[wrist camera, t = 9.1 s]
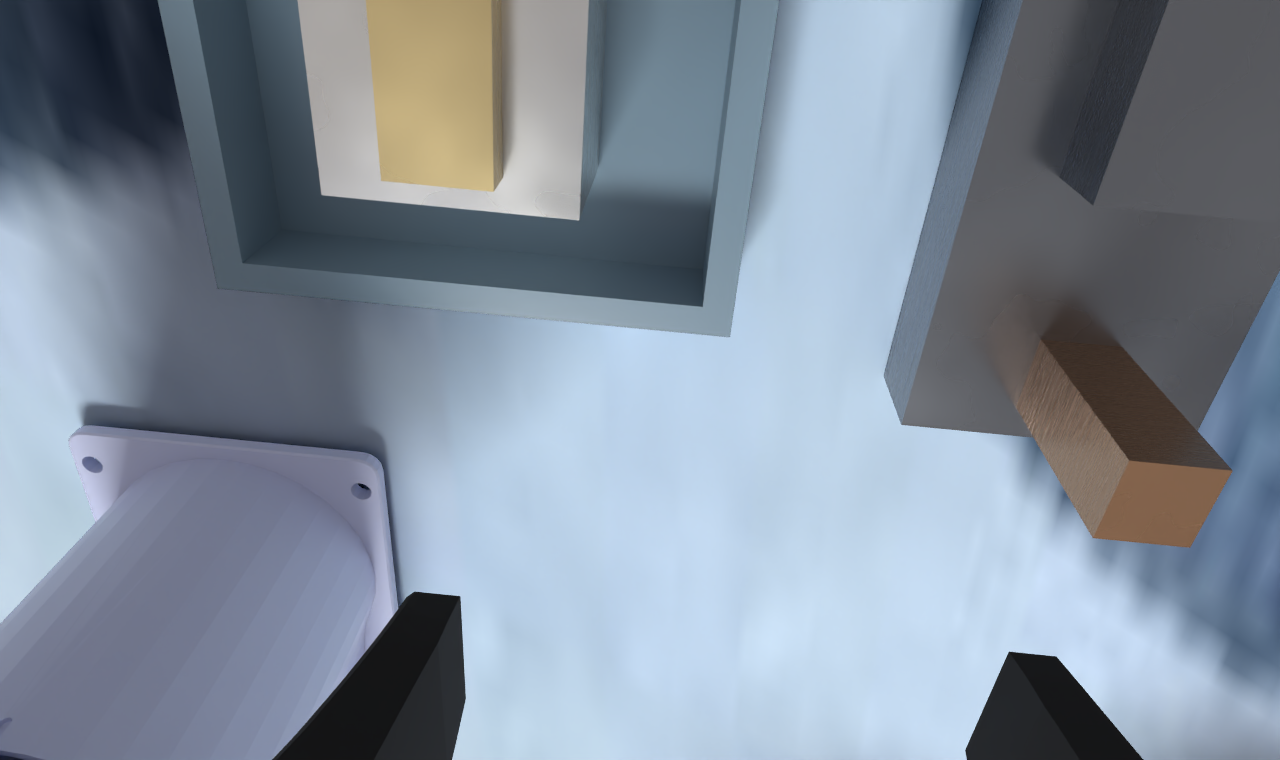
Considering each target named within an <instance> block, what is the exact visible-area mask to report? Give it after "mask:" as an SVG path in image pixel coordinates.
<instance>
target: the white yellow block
mask: <svg viewBox="0 0 1280 760" xmlns="http://www.w3.org/2000/svg"><path fill="white" fill-rule="evenodd" d="M297 1H298V9H299V17H300V25H301V33H302V41H303V49H304V57H305V65H306V73H307V82H308V90H309V98H310V106H311V114H312V122H313V130H314V138H315V146H316V154H317V162H318V171H319V179H320V187H321V195H325V196H336V197H346V198H356V199H366V200H376V201H387V202H397V203H407V204H417V205H427V206H438V207H448V208H458V209H468V210H478V211H488V212H499V213H509V214H519V215H529V216H539V217H550V218H560V219H570V220H580V217H581V215H582V212H583V209H584V206H585V203H586V201H587V198H588V195H589V192H590V189H591V187H592V184H593V181H594V178H595V175H596V173H597V170H598V164H599V145H600V127H601V108H602V89H603V70H604V52H605V33H606V14H607V0H297Z"/></svg>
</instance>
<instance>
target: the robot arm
mask: <svg viewBox="0 0 1280 760" xmlns="http://www.w3.org/2000/svg"><path fill="white" fill-rule="evenodd" d="M69 447H70V450H71V453H72V456H73V459H74V461H75V464H76V467H77V470H78V473H79V476H80V479H81V482H82V484H83V487H84V490H85V493H86V496H87V499H88V502H89V505H90V508H91V510H92V513H93V516H94V519H95V522H96V523H95V524H94V525H93V526H92V527H91V528H90V529H89V530H88V531H87V532H86V533H85V534H84V535H83V536H82V538H81V539H80V540H79V541H78V542H77V543H76V544H75V545H74V546H73V547H72V548H71V549H70V550H69V551H68V552H67V553H66V555H65V556H64V557H63V558H62V559H61V560H60V561H59V562H58V563H57V564H56V565H55V566H54V567H53V568H52V569H51V571H50V572H49V573H48V574H47V575H46V576H45V577H44V578H43V579H42V580H41V581H40V582H39V583H38V584H37V585H36V586H35V588H34V589H33V590H32V591H31V592H30V593H29V594H28V595H27V596H26V597H25V598H24V599H23V600H22V601H21V602H20V604H19V605H18V606H17V607H16V608H15V609H14V610H13V611H12V612H11V613H10V614H9V615H8V616H7V617H6V618H5V619H4V621H3V622H2V623H1V624H0V760H452V757H453V753H454V748H455V744H456V740H457V735H458V731H459V726H460V722H461V717H462V713H463V708H464V704H465V699H466V695H465V676H464V658H463V639H462V620H461V601H460V596H452V595H442V594H432V593H422V592H414V593H412V594H411V595H409V596H408V597H406V599H405V600H404V602H403V603H402V604H401V606H400V607H399V608H398V601H397V592H396V583H395V573H394V564H393V555H392V546H391V536H390V527H389V518H388V509H387V499H386V490H385V481H384V472H383V467H382V464H381V463H380V462H379V460H378V459H377V458H376V457H374V456H372V455H371V454H368V453H364V452H357V451H347V450H337V449H327V448H317V447H307V446H296V445H286V444H276V443H266V442H256V441H246V440H235V439H225V438H215V437H205V436H195V435H185V434H174V433H164V432H154V431H144V430H134V429H124V428H113V427H103V426H93V425H87V426H82V427H81V428H79V429H78V430H76V431H75V432H74V433H73V434H72V435H71V436H70V438H69ZM94 458H96V459H97V460H99V461H100V462H101V463H100V462H98V461H97V460H95V459H94ZM358 483H361V484H364V485H366V486H368V487H369V488H370V490H366V489H363V488H361V487H360V486H359V485H358ZM965 751H966V757H967V760H1143V759H1142V758H1141V756H1140V755H1139V754H1138V753H1137V752H1136V750H1135V749H1134V748H1133V747H1132V746H1131V745H1130V743H1129V742H1128V741H1127V740H1126V739H1125V737H1124V736H1123V735H1122V734H1121V733H1120V732H1119V730H1118V729H1117V728H1116V727H1115V726H1114V724H1113V723H1112V722H1111V721H1110V720H1109V718H1108V717H1107V716H1106V715H1105V714H1104V713H1103V711H1102V710H1101V709H1100V708H1099V707H1098V705H1097V704H1096V703H1095V702H1094V701H1093V699H1092V698H1091V697H1090V696H1089V695H1088V693H1087V692H1086V691H1085V690H1084V689H1083V687H1082V686H1081V685H1080V684H1079V683H1078V682H1077V680H1076V679H1075V678H1074V677H1073V676H1072V674H1071V673H1070V672H1069V671H1068V670H1067V669H1066V667H1065V666H1064V665H1063V664H1062V663H1061V662H1060V660H1059V659H1058V658H1057V657H1055V656H1045V655H1035V654H1026V653H1016V652H1009V653H1008V655H1007V657H1006V660H1005V662H1004V664H1003V666H1002V669H1001V671H1000V673H999V675H998V678H997V680H996V682H995V684H994V687H993V689H992V691H991V693H990V696H989V698H988V700H987V702H986V705H985V707H984V709H983V711H982V714H981V716H980V718H979V721H978V723H977V725H976V727H975V730H974V732H973V734H972V736H971V739H970V741H969V743H968V745H967V748H966V750H965Z"/></svg>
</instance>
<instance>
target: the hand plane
mask: <svg viewBox="0 0 1280 760" xmlns="http://www.w3.org/2000/svg"><path fill="white" fill-rule="evenodd" d="M1279 271H1280V0H983V2H982V5H981V9H980V13H979V17H978V21H977V24H976V28H975V32H974V36H973V40H972V43H971V47H970V51H969V55H968V59H967V62H966V66H965V70H964V74H963V78H962V81H961V85H960V89H959V93H958V97H957V100H956V104H955V108H954V112H953V116H952V119H951V123H950V127H949V131H948V135H947V138H946V142H945V146H944V150H943V154H942V157H941V161H940V165H939V169H938V173H937V176H936V180H935V184H934V188H933V192H932V195H931V199H930V203H929V207H928V211H927V214H926V218H925V222H924V226H923V230H922V233H921V237H920V241H919V245H918V249H917V252H916V256H915V260H914V264H913V267H912V271H911V275H910V279H909V283H908V286H907V290H906V294H905V298H904V302H903V305H902V309H901V313H900V317H899V321H898V324H897V328H896V332H895V336H894V340H893V343H892V347H891V351H890V355H889V359H888V362H887V366H886V370H885V374H884V378H885V381H886V384H887V387H888V389H889V392H890V395H891V398H892V400H893V403H894V406H895V409H896V411H897V414H898V417H899V420H900V422H901V425H910V426H920V427H930V428H941V429H951V430H961V431H972V432H982V433H992V434H1003V435H1013V436H1023V437H1034V439H1035V441H1036V442H1037V444H1038V446H1039V447H1040V449H1041V451H1042V452H1043V454H1044V456H1045V458H1046V459H1047V461H1048V463H1049V464H1050V466H1051V468H1052V469H1053V471H1054V473H1055V475H1056V476H1057V478H1058V480H1059V481H1060V483H1061V485H1062V486H1063V488H1064V490H1065V491H1066V493H1067V495H1068V497H1069V498H1070V500H1071V502H1072V503H1073V505H1074V507H1075V508H1076V510H1077V512H1078V513H1079V515H1080V517H1081V519H1082V520H1083V522H1084V524H1085V525H1086V527H1087V529H1088V530H1089V532H1090V534H1091V536H1092V537H1093V538H1098V539H1108V540H1119V541H1129V542H1139V543H1149V544H1159V545H1169V546H1179V547H1191V545H1192V543H1193V541H1194V539H1195V538H1196V536H1197V534H1198V532H1199V530H1200V529H1201V527H1202V525H1203V523H1204V521H1205V520H1206V518H1207V516H1208V514H1209V512H1210V511H1211V509H1212V507H1213V505H1214V503H1215V502H1216V500H1217V498H1218V496H1219V494H1220V493H1221V491H1222V489H1223V487H1224V485H1225V484H1226V482H1227V480H1228V478H1229V476H1230V475H1231V473H1232V469H1231V468H1230V467H1229V466H1228V465H1227V464H1226V463H1225V462H1224V461H1223V459H1222V458H1221V457H1220V456H1219V455H1218V454H1217V453H1216V452H1215V450H1214V449H1213V448H1212V447H1211V446H1210V445H1209V444H1208V443H1207V441H1206V440H1205V439H1204V438H1203V437H1202V436H1201V435H1200V434H1199V432H1198V429H1199V427H1200V425H1201V423H1202V421H1203V419H1204V417H1205V415H1206V413H1207V411H1208V409H1209V407H1210V405H1211V404H1212V402H1213V400H1214V398H1215V396H1216V394H1217V392H1218V390H1219V388H1220V386H1221V384H1222V382H1223V380H1224V378H1225V376H1226V374H1227V372H1228V370H1229V368H1230V366H1231V364H1232V362H1233V361H1234V359H1235V357H1236V355H1237V353H1238V351H1239V349H1240V347H1241V345H1242V343H1243V341H1244V339H1245V337H1246V335H1247V333H1248V331H1249V329H1250V327H1251V325H1252V323H1253V321H1254V320H1255V318H1256V316H1257V314H1258V312H1259V310H1260V308H1261V306H1262V304H1263V302H1264V300H1265V298H1266V296H1267V294H1268V292H1269V290H1270V288H1271V286H1272V284H1273V282H1274V280H1275V278H1276V277H1277V275H1278V273H1279Z"/></svg>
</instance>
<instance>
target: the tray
mask: <svg viewBox="0 0 1280 760" xmlns="http://www.w3.org/2000/svg"><path fill="white" fill-rule="evenodd" d="M158 4H159V9H160V14H161V18H162V23H163V28H164V33H165V38H166V42H167V47H168V52H169V57H170V62H171V66H172V71H173V76H174V81H175V86H176V90H177V95H178V100H179V105H180V110H181V115H182V119H183V124H184V129H185V134H186V139H187V143H188V148H189V153H190V158H191V163H192V167H193V172H194V177H195V182H196V187H197V191H198V196H199V201H200V206H201V211H202V216H203V220H204V225H205V230H206V235H207V240H208V244H209V249H210V254H211V259H212V264H213V268H214V273H215V278H216V283H217V288H218V289H229V290H239V291H250V292H260V293H271V294H281V295H292V296H302V297H313V298H323V299H334V300H344V301H355V302H365V303H376V304H386V305H397V306H407V307H418V308H428V309H439V310H449V311H460V312H470V313H481V314H491V315H502V316H512V317H523V318H533V319H544V320H554V321H564V322H575V323H585V324H596V325H606V326H617V327H627V328H638V329H648V330H659V331H669V332H680V333H690V334H701V335H711V336H722V337H730V332H731V326H732V319H733V312H734V305H735V298H736V292H737V285H738V278H739V271H740V264H741V258H742V251H743V244H744V237H745V230H746V224H747V217H748V210H749V203H750V196H751V190H752V183H753V176H754V169H755V162H756V156H757V149H758V142H759V135H760V129H761V122H762V115H763V108H764V101H765V95H766V88H767V81H768V74H769V67H770V61H771V54H772V47H773V40H774V33H775V27H776V20H777V13H778V6H779V0H607V14H606V33H605V52H604V70H603V89H602V108H601V127H600V145H599V164H598V170H597V173H596V175H595V178H594V181H593V184H592V187H591V189H590V192H589V195H588V198H587V201H586V203H585V206H584V209H583V212H582V215H581V217H580V220H570V219H560V218H550V217H539V216H529V215H519V214H509V213H499V212H488V211H478V210H468V209H458V208H448V207H438V206H427V205H417V204H407V203H397V202H387V201H376V200H366V199H356V198H346V197H336V196H325V195H321V187H320V179H319V171H318V162H317V154H316V146H315V138H314V130H313V122H312V114H311V106H310V98H309V90H308V82H307V73H306V65H305V57H304V49H303V41H302V33H301V25H300V17H299V9H298V1H297V0H158Z"/></svg>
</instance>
